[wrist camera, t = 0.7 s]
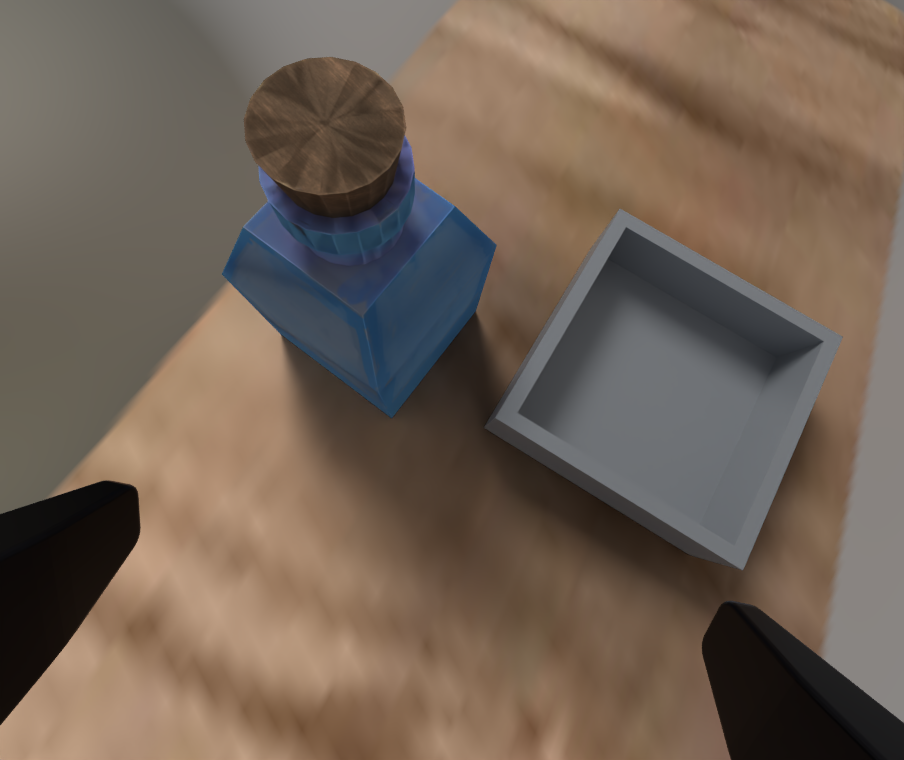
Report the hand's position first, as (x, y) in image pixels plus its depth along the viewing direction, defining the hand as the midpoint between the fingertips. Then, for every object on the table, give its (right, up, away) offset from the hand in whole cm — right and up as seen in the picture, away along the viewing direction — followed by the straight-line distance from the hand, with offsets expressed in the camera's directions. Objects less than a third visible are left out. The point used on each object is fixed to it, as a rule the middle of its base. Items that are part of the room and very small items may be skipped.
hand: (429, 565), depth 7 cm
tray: (+9, +2, +14) cm, 17 cm away
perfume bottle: (-3, +5, +14) cm, 15 cm away
